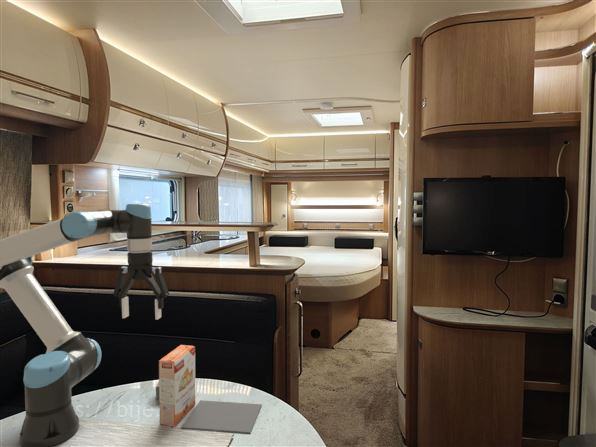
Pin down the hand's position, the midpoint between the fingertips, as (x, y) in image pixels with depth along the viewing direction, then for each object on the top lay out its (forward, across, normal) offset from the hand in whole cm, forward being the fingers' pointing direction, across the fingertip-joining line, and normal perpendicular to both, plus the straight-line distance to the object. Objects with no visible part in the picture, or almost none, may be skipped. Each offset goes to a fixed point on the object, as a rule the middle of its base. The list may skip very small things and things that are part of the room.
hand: (141, 317), depth 127 cm
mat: (+32, -27, 0) cm, 42 cm away
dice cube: (+32, -2, -10) cm, 34 cm away
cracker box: (+32, -12, 0) cm, 34 cm away
